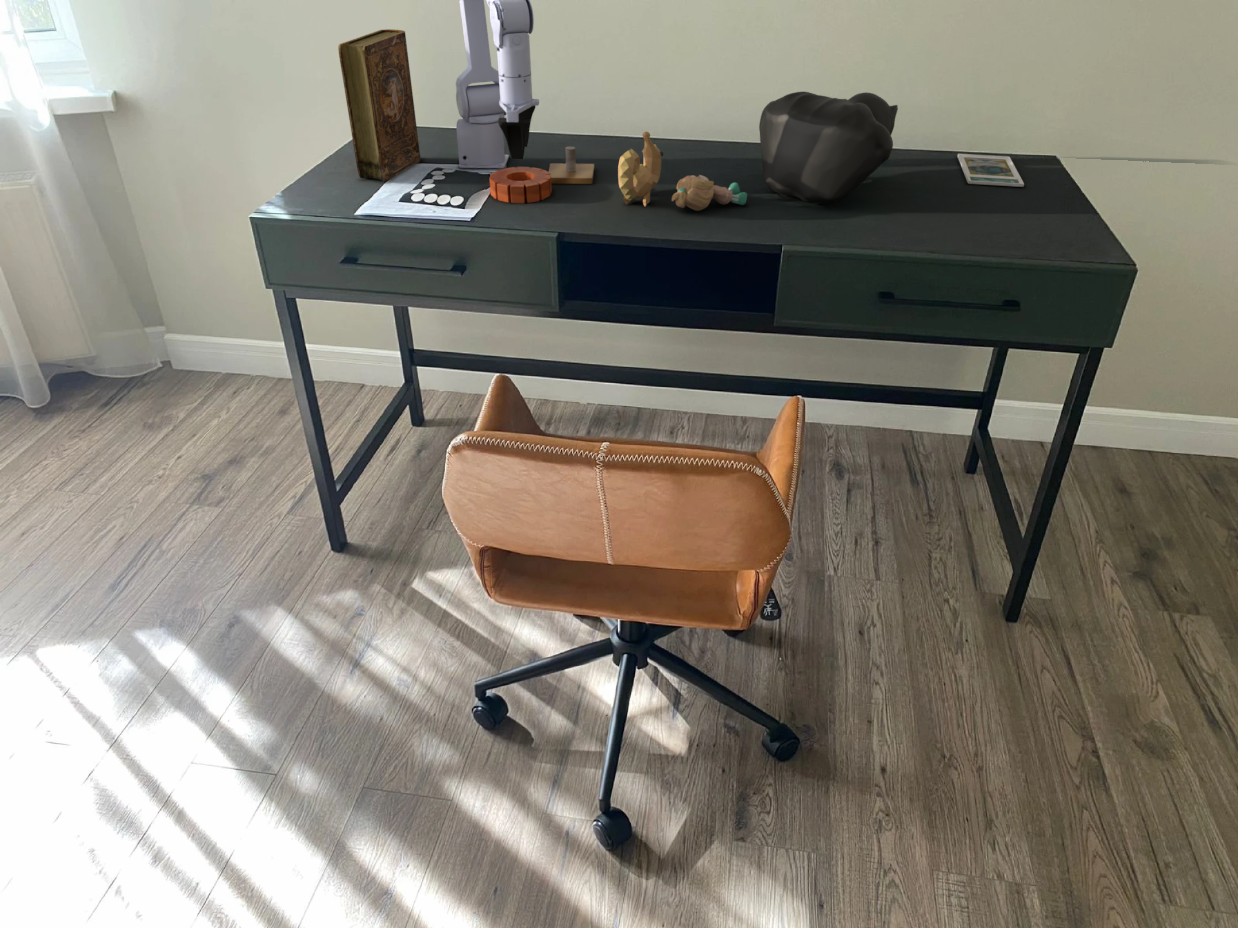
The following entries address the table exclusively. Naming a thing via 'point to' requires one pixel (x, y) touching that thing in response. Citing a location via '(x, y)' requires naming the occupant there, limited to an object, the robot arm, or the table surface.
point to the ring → (520, 184)
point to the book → (380, 103)
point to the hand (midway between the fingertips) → (519, 152)
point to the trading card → (990, 170)
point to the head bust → (824, 143)
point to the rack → (571, 170)
